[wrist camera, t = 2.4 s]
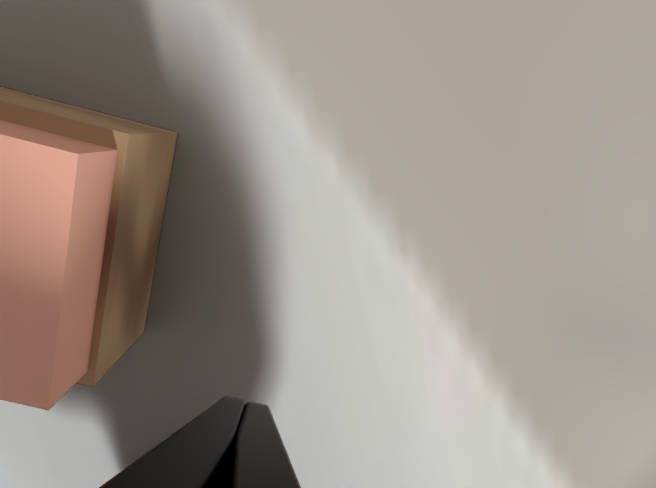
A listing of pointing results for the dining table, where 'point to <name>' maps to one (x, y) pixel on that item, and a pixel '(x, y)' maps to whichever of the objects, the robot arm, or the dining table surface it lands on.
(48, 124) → the brown square block
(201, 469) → the robot arm
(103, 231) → the pink block
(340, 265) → the dining table surface
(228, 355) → the dining table surface
